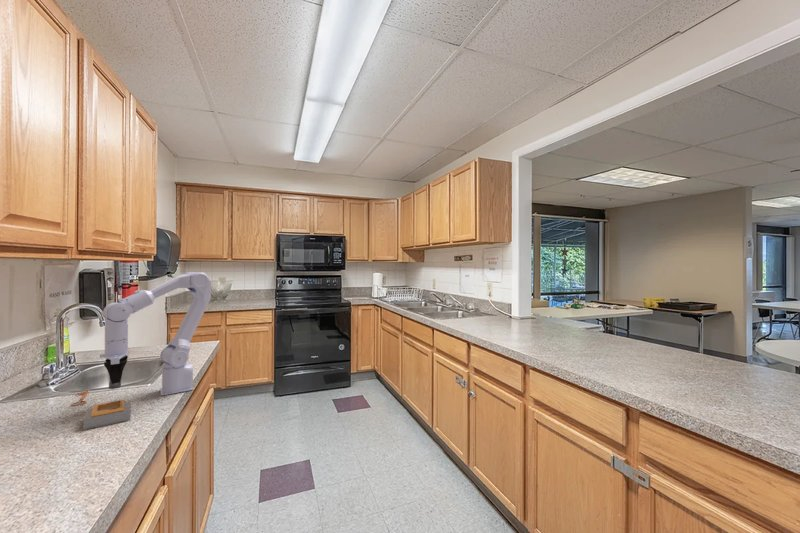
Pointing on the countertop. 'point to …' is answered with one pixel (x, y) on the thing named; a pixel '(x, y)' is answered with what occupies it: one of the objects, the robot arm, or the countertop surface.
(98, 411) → the chuck block
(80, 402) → the key
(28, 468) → the countertop surface
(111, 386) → the peg
